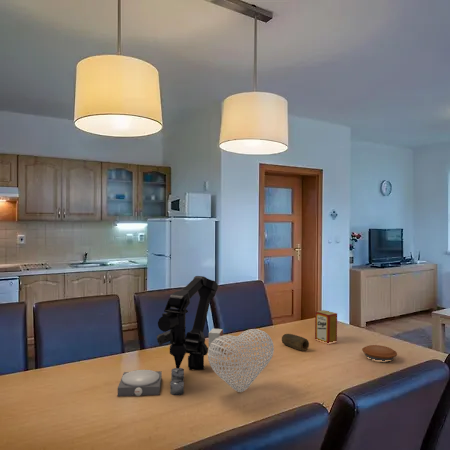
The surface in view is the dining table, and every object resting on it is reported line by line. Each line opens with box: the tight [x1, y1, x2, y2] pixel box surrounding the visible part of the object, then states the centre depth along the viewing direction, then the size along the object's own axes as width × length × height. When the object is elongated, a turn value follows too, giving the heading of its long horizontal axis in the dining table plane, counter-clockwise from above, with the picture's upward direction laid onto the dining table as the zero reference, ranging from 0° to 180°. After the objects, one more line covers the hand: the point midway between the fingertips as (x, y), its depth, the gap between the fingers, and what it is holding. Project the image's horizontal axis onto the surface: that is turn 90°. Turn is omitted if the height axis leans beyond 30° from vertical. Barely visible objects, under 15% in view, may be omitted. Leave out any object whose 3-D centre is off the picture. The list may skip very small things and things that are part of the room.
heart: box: [207, 328, 275, 393], centre depth 149 cm, size 28×16×22 cm, turn 130°
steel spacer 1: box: [170, 367, 185, 382], centre depth 160 cm, size 5×5×4 cm
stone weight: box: [281, 333, 310, 352], centre depth 203 cm, size 15×7×7 cm, turn 39°
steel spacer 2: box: [169, 379, 185, 396], centre depth 148 cm, size 5×5×4 cm
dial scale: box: [117, 369, 163, 397], centre depth 152 cm, size 15×16×4 cm
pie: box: [361, 344, 398, 361], centre depth 188 cm, size 15×16×5 cm
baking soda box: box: [314, 309, 338, 343], centre depth 215 cm, size 10×6×16 cm
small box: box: [208, 328, 224, 356], centre depth 194 cm, size 8×6×10 cm
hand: (177, 363), depth 160 cm, fingers open, 9 cm apart
